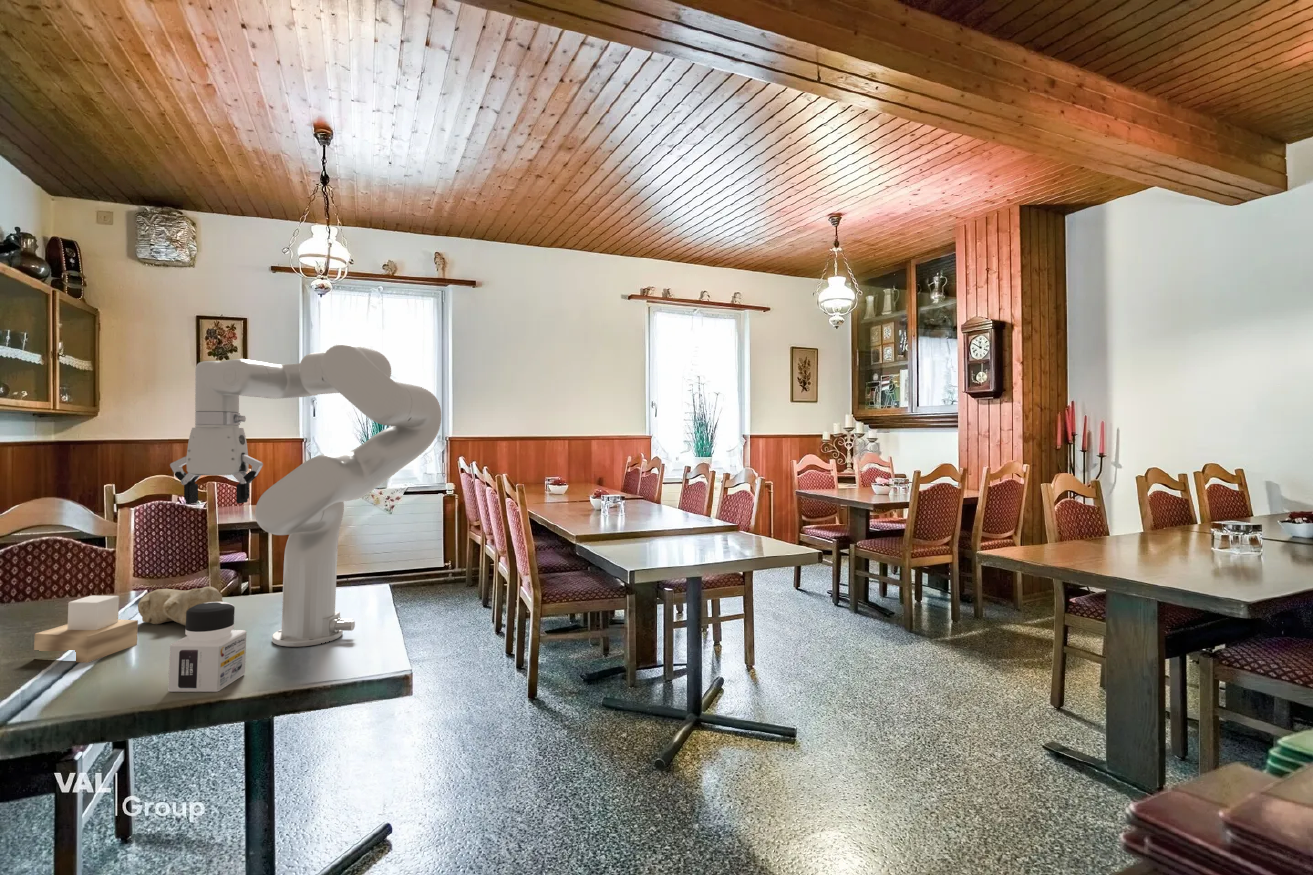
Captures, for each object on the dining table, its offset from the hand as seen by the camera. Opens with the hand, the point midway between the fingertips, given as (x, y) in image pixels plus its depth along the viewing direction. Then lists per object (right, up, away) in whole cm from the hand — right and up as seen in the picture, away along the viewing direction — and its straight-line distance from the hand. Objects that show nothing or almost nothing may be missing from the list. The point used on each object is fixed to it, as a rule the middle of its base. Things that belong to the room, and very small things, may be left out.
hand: (217, 503), depth 131 cm
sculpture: (-11, -27, +3) cm, 29 cm away
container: (+17, -27, -27) cm, 42 cm away
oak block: (-14, -26, -15) cm, 33 cm away
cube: (-13, -21, -14) cm, 29 cm away
